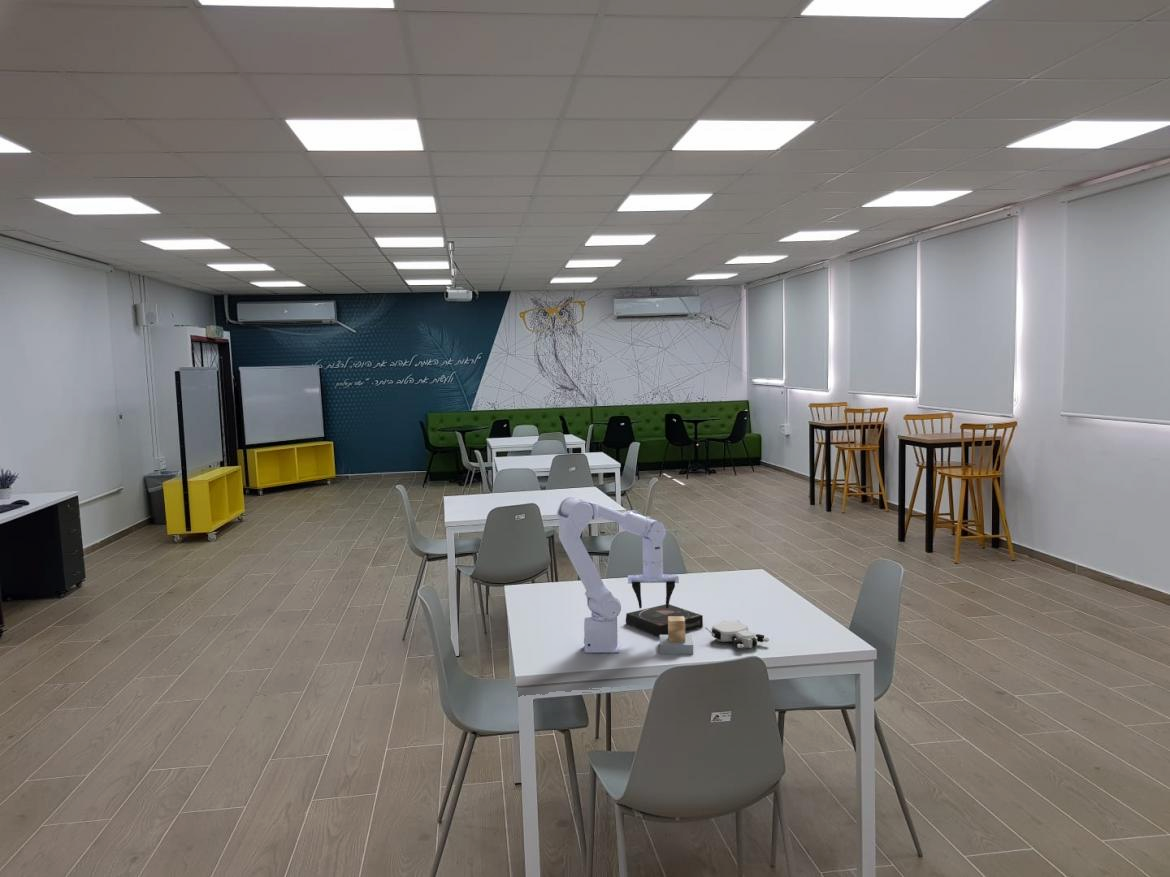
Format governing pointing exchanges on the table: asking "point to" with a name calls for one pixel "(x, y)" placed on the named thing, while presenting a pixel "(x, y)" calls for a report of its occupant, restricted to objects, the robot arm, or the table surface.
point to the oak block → (676, 628)
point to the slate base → (676, 645)
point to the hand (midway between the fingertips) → (653, 607)
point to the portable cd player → (662, 619)
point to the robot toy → (736, 634)
